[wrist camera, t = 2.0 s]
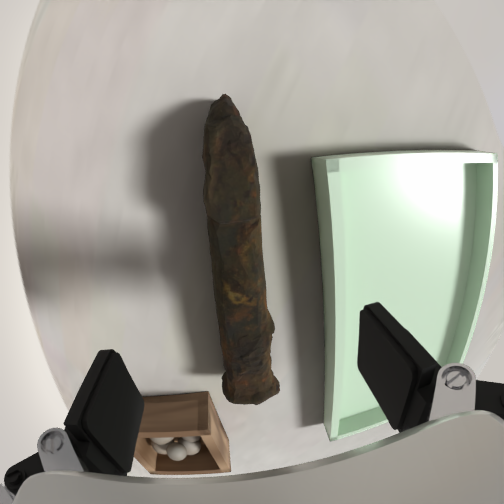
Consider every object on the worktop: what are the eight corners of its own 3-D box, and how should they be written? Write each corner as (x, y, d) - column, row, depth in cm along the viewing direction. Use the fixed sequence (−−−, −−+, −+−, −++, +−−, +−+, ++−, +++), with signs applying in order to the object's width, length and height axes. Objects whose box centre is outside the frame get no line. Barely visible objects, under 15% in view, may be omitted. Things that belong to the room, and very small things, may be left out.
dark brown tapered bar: (272, 368, 22) (284, 411, 17) (221, 372, 21) (224, 417, 17) (272, 101, 15) (291, 84, 11) (202, 102, 15) (195, 85, 10)
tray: (311, 157, 16) (325, 159, 14) (475, 150, 17) (497, 153, 14) (323, 423, 25) (330, 441, 22) (440, 379, 25) (450, 392, 23)
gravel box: (121, 397, 21) (111, 434, 17) (208, 391, 21) (208, 432, 17) (154, 444, 24) (150, 476, 20) (228, 439, 24) (231, 474, 20)
